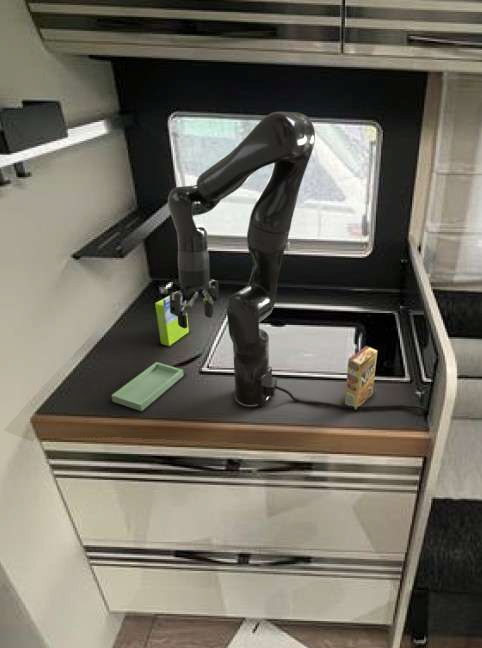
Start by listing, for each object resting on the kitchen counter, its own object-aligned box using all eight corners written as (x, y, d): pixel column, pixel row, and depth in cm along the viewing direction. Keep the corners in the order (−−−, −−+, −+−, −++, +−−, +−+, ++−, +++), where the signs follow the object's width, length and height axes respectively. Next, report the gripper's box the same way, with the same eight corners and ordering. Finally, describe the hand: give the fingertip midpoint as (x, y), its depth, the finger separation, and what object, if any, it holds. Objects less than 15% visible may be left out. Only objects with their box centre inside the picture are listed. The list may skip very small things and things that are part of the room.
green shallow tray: (183, 375, 118) (183, 369, 117) (141, 411, 104) (140, 405, 103) (157, 367, 121) (156, 361, 120) (112, 401, 106) (111, 395, 105)
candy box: (356, 410, 110) (361, 364, 103) (343, 404, 112) (347, 358, 105) (372, 394, 116) (378, 350, 110) (360, 388, 118) (365, 344, 112)
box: (180, 329, 141) (175, 285, 134) (190, 332, 140) (186, 287, 133) (159, 344, 132) (152, 297, 125) (169, 347, 131) (163, 300, 124)
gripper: (180, 275, 95) (184, 335, 100) (225, 262, 106) (226, 317, 112) (160, 268, 98) (164, 326, 104) (205, 256, 110) (207, 309, 115)
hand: (196, 321), depth 108 cm, fingers open, 8 cm apart
